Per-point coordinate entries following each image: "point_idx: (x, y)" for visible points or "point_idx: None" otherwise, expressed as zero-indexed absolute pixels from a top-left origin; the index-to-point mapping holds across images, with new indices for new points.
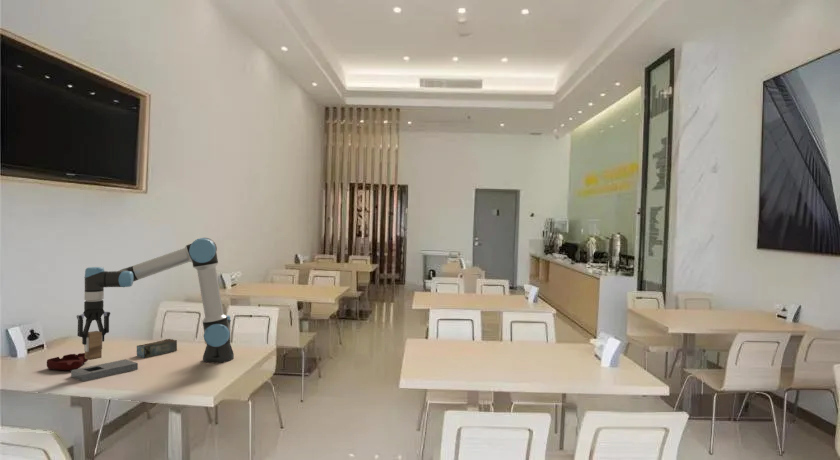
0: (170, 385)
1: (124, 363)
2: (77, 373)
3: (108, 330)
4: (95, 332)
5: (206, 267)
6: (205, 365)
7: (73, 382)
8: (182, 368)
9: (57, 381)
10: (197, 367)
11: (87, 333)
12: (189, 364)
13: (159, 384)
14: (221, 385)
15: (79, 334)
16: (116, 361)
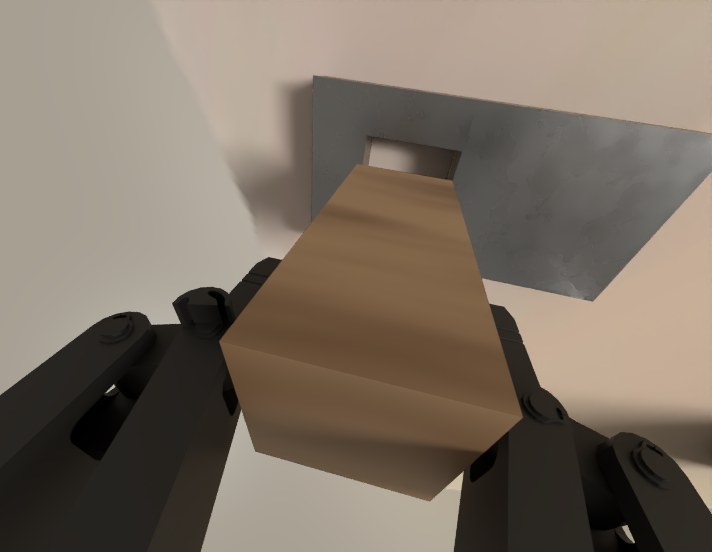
0: None
1: (572, 246)
2: (313, 181)
3: (599, 535)
4: (362, 460)
5: None
6: (667, 440)
7: (293, 203)
8: (610, 404)
9: (248, 109)
10: (630, 431)
11: (226, 432)
12: (691, 401)
13: None
14: (461, 487)
15: (110, 395)
16: (635, 141)
